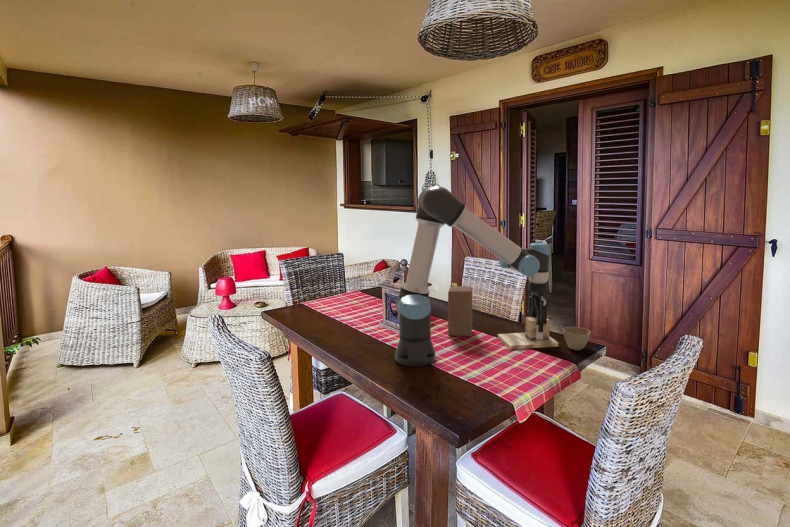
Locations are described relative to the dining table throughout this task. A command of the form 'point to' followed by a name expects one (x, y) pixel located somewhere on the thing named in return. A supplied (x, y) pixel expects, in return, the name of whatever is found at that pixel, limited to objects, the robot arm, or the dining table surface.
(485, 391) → the dining table surface
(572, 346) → the flower pot
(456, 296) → the wooden block
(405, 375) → the dining table surface
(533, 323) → the sanding block
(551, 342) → the board
